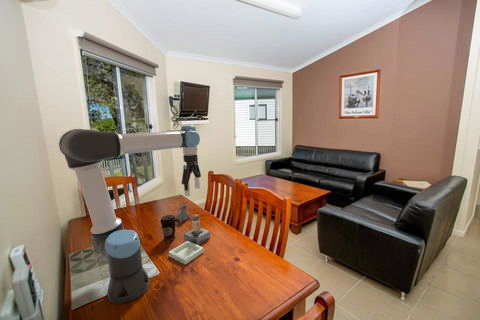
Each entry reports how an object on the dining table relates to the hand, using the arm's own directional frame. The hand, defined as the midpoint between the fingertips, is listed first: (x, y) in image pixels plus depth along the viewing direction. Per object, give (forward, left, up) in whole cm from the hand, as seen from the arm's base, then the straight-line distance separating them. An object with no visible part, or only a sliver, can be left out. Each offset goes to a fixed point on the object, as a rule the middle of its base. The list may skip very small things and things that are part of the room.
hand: (192, 191), depth 128 cm
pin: (-3, -4, -26) cm, 27 cm away
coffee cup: (-11, +10, -27) cm, 30 cm away
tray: (-16, -10, -26) cm, 32 cm away
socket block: (-3, -4, -26) cm, 27 cm away
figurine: (+10, +24, -27) cm, 38 cm away
